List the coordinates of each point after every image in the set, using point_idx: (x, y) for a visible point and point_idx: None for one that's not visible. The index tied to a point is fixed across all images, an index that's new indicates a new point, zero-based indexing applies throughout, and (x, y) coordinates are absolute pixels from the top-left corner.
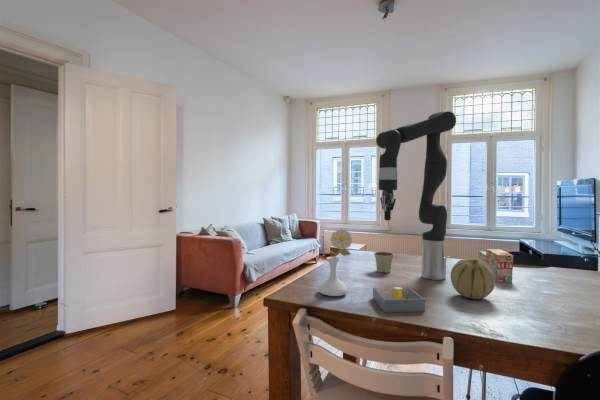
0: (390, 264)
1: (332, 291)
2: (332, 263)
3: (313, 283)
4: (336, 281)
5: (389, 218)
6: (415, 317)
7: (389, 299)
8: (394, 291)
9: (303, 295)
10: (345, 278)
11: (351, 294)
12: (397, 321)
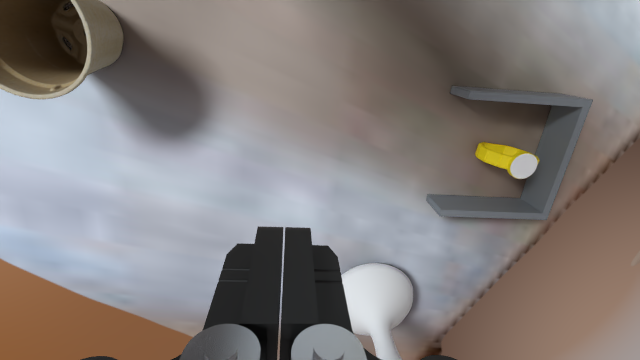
0: (89, 1)
1: (409, 310)
2: None
3: None
4: (394, 314)
5: (332, 259)
6: (581, 141)
7: (549, 205)
8: (491, 162)
9: None
10: (218, 230)
11: (383, 247)
12: (580, 193)
